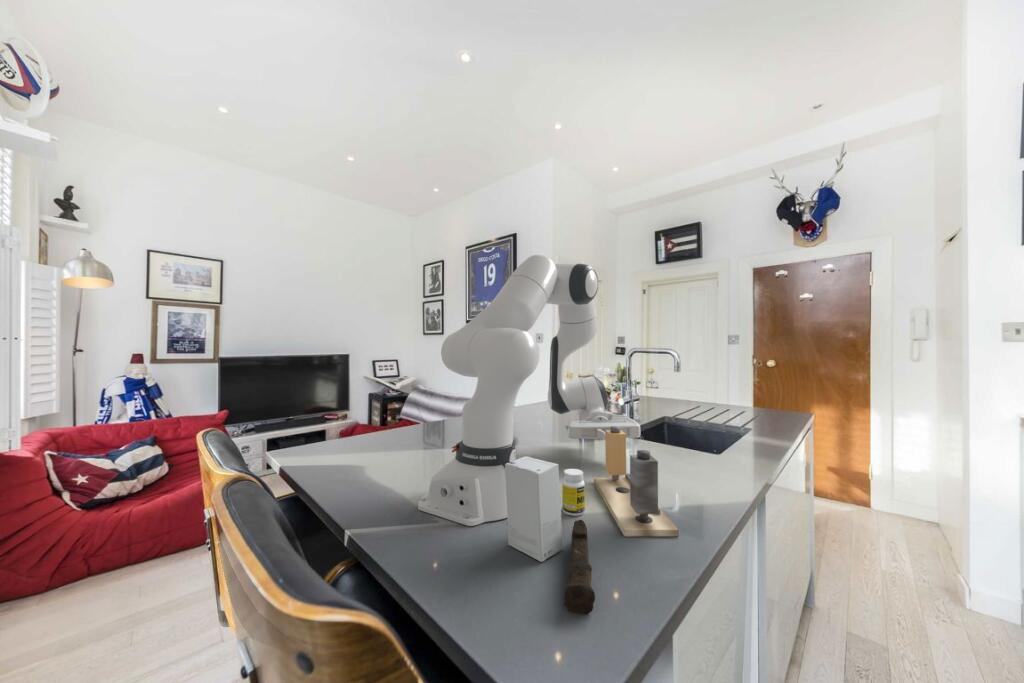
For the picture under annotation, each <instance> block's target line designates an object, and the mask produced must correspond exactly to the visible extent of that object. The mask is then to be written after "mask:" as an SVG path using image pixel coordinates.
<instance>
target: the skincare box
mask: <svg viewBox="0 0 1024 683" xmlns="http://www.w3.org/2000/svg"><path fill="white" fill-rule="evenodd" d="M559 468H560V467H559V464H558V463H554V462H549V461H546V460H543V459H538V458H533V457H530V456H521V457H519V458H516V460H514V461H511V462H509V463H506V464H505V476H506V498H507V537H508V540H507V541H508V546H510V547H512V548H514V549H516V550H518V551H520V552H522V553H524V554H526V555H528V556H529V557H531V558H533V559H534V560H536V561H539V562H540V563H542V562H545V561H546V560H547V559H548V558H550V557H552V556H555V555H556V554H557V553H559V552H561V551H562V550H563V531H562V530H563V528H562V509H561V508H562V506H561V492H560V491H561V490H560V476H559V475H560V473H559Z"/></svg>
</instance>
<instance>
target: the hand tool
mask: <svg viewBox="0 0 1024 683" xmlns="http://www.w3.org/2000/svg"><path fill="white" fill-rule="evenodd" d="M587 529H588V528H587V524H586V522H585V521H584V520H583V519H577V520H574V523H573V526H572V531H571V548H570V556H569V557H570V558H569V570H568V579H567V584H568V585H567V586H566V588H565V590H564V591H565V592H564V594H563V595H564V596H563V599H564V600H563V601H564V604H563V605H564V607H565V608H566V609H567V611H568V612H570V613H577V614H583V615H584V614H590V613H592V611H593V609H594V603H595V600H596V593H595V591H594V590H593V587H592V572H593V571H592V570H593V568H592V565H591V564H590V561H589V560H590V559H589V557H590V556H589V542H588V539H589V538H588V530H587Z"/></svg>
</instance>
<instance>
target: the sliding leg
mask: <svg viewBox="0 0 1024 683" xmlns="http://www.w3.org/2000/svg"><path fill="white" fill-rule="evenodd" d="M604 441H605V442H604V443H605V449H604V450H605V452H604V453H605V471H606V472H607V474H608V475H609V476H611V478H612V479H613V480H619V478H620V476H625V475H626V474H627V438H626V434H625V433H624V432H623V431H621V430H620V427H618V426H611V427H610V430H605V440H604Z"/></svg>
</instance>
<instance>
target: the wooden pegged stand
mask: <svg viewBox="0 0 1024 683" xmlns="http://www.w3.org/2000/svg"><path fill="white" fill-rule="evenodd" d="M658 464H659V461H658V460H657V459H656V458H654V457H653V456H652V455H651V452H650V451H649V450H647V449H646V450H644V449H639V450H637V451H636V454H630V455H629V473H626V475H624V477H619V480H613V479H612V477H593V484H594V486H595V487H596V489H597V491H598V492H599V494H600V497H602V499H603V501H604V503H605V505H606V507H607V508H608V510H609V512H610V515H611V516H612V517H613V519H614V521H615V522H616V525H617V526H618V528H619V529H620V531H621V533H622V535H623V536H624V537H679V536H680V535H679V529H678V527H677V526H676V525H675V524H674V522H672V520H671V519H670V518H669V517H668V516H667V515H666V514H665V512H664V511H663V510H662V509H661V508H660V507H659V465H658Z"/></svg>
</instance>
